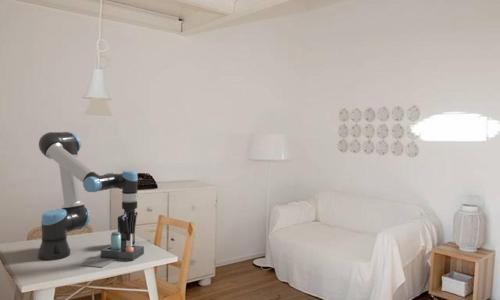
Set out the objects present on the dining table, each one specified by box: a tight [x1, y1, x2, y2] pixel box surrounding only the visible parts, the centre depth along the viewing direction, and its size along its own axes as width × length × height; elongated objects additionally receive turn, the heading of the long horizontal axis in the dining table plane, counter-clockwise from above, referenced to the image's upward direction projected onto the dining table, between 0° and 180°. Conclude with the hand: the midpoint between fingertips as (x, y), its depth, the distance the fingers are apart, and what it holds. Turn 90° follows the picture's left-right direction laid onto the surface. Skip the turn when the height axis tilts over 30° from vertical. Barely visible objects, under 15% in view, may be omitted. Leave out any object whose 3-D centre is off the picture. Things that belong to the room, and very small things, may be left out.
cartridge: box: [110, 231, 121, 250], centre depth 213 cm, size 5×5×12 cm
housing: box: [100, 244, 145, 262], centre depth 212 cm, size 18×12×4 cm, turn 78°
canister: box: [117, 214, 136, 246], centre depth 231 cm, size 10×10×18 cm
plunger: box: [126, 247, 134, 252], centre depth 209 cm, size 4×4×4 cm
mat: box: [79, 256, 117, 268], centre depth 201 cm, size 12×12×1 cm
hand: (129, 246), depth 209 cm, fingers closed
